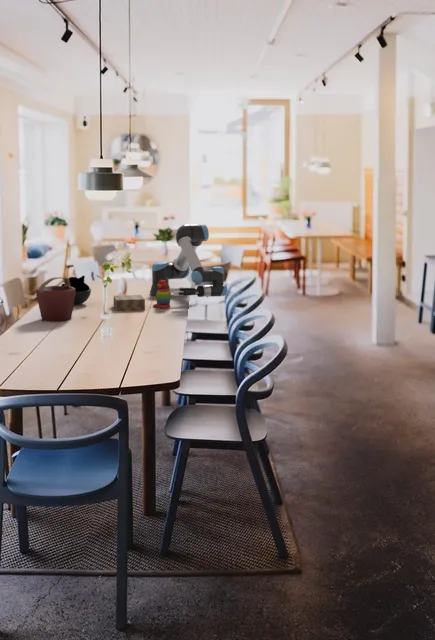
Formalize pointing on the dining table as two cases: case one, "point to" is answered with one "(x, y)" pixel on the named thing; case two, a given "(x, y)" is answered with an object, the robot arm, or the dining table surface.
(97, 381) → the dining table surface
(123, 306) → the walnut block
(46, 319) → the bucket
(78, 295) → the coal bowl
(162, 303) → the stacking bear
